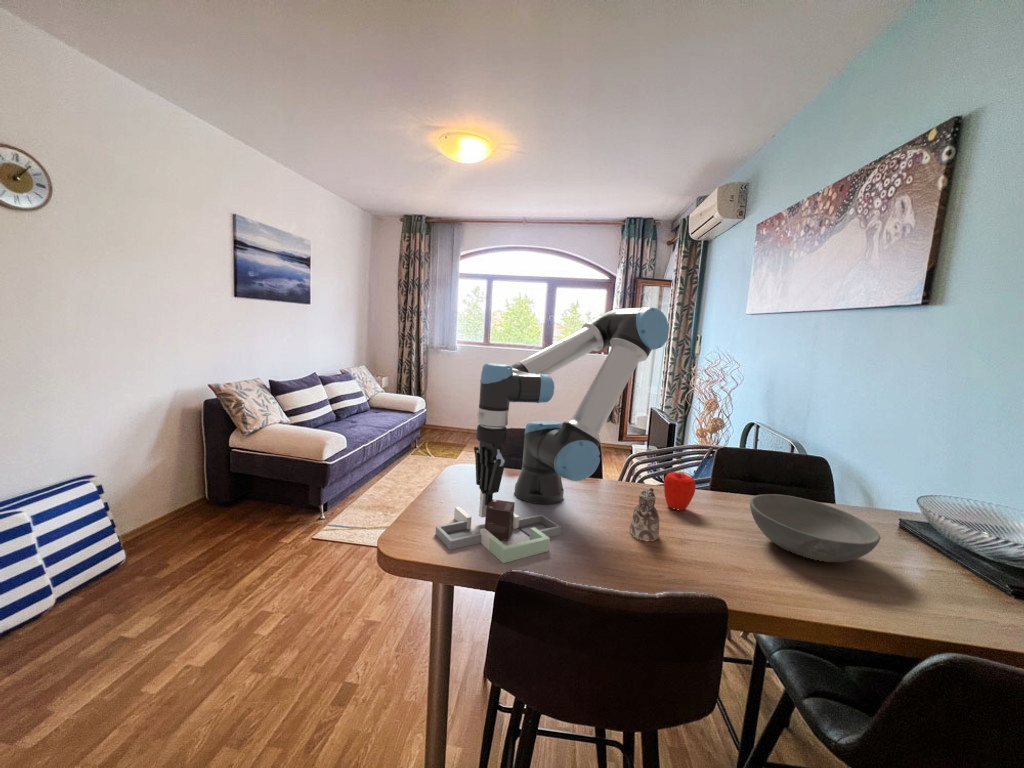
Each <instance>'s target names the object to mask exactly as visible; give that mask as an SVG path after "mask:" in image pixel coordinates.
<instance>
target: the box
mask: <svg viewBox="0 0 1024 768" xmlns="http://www.w3.org/2000/svg"><path fill="white" fill-rule="evenodd" d="M515 503H516V502H515V501H508V500H499V499H493V498H492V500H491V501H490V503H489V504H488V506H487V508H486V517H484V518H485V521H484V528H485V529H486V530H487V531H489V532H490V533H491V534H492V535H493V536H495V537H496V538H497V539H498V540H503V541H509V540H510V538H511V535H512V533H513V530H514V528H513V518H514V513H515Z"/></svg>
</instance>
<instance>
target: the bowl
mask: <svg viewBox="0 0 1024 768" xmlns="http://www.w3.org/2000/svg"><path fill="white" fill-rule="evenodd" d="M749 508H750V513H751V515H752V518H753V520H754V522H755V524H756V525H757V527H758V529H759V530H760V531H761V533H762V534H764V536H765V537H766V538H767V539H769V540H770V541H771V542H773V543H774V544H775V545H777V546H778V547H779V548H781V549H783V550H785V551H787V552H789V551H790V553H791V552H792V553H791V554H794V553H795V554H794V555H796V554H797V556H799V555H801V556H800V557H802V556H803V557H802V558H805V557H806V559H808V558H810V559H809V560H812V559H814V561H817V560H819V561H818V562H822V561H824V562H823V563H843V562H845V563H846V562H850V561H854V560H856V559H859V558H862V557H864V556H866V555H868V554H869V553H870V552H872V551H873V550H874V549H875V548H876V547H877V546H878V544H879V542H880V540H881V535H880V533H878V531H877V530H876V529H875V528H874V527H872V525H870V524H869V523H867V522H865V521H864V520H862V519H861V518H859V517H857V516H855V515H853V514H851V513H849V512H846V511H844V510H842V509H839V508H836V507H833V506H831V505H827V504H824V503H821V502H819V501H815V500H812V499H808V498H802V497H797V496H794V495H786V494H776V493H774V494H772V493H771V494H770V493H767V494H766V493H765V494H757V495H754V496H753V497H752V498H751V499H750V501H749Z"/></svg>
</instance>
